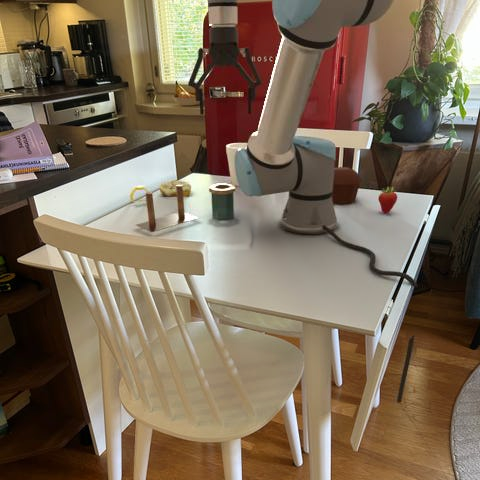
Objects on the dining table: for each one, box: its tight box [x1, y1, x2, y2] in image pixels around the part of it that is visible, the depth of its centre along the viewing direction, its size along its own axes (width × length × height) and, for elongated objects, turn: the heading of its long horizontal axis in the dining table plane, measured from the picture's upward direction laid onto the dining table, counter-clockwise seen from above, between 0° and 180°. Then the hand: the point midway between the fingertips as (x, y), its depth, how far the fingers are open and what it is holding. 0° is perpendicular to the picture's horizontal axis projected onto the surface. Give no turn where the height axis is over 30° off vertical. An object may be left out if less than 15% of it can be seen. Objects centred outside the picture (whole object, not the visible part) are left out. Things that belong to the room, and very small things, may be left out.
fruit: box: [377, 186, 398, 214], centre depth 139 cm, size 5×5×8 cm
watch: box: [130, 184, 149, 203], centre depth 150 cm, size 6×3×6 cm, turn 119°
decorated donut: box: [159, 180, 192, 198], centre depth 161 cm, size 10×11×4 cm
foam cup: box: [225, 142, 248, 187], centre depth 169 cm, size 10×9×13 cm
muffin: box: [332, 166, 363, 206], centre depth 150 cm, size 12×11×10 cm
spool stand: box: [135, 185, 199, 233], centre depth 132 cm, size 16×8×10 cm, turn 133°
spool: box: [208, 182, 237, 221], centre depth 135 cm, size 7×7×10 cm
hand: (225, 113), depth 137 cm, fingers open, 13 cm apart
